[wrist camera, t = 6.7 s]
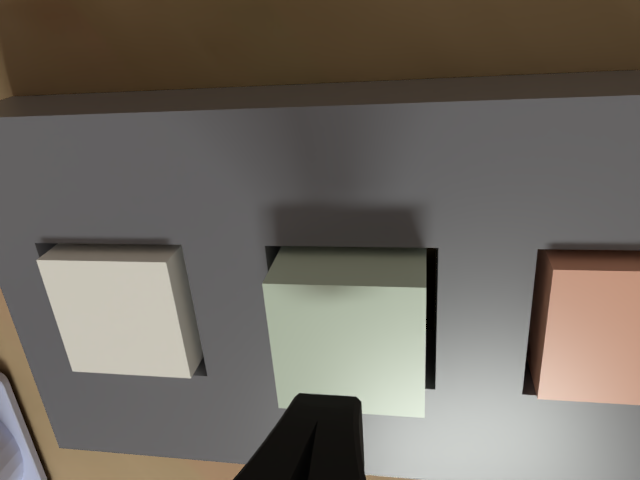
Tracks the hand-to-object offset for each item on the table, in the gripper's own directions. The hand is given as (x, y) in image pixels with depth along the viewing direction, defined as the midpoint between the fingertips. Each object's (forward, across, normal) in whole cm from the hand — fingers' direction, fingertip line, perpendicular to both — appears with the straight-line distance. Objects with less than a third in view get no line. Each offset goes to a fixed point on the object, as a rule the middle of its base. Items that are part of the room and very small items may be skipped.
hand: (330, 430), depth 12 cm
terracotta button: (+7, -7, 0) cm, 10 cm away
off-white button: (+7, +7, 0) cm, 10 cm away
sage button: (+6, 0, 0) cm, 6 cm away
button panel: (+7, 0, 0) cm, 7 cm away
